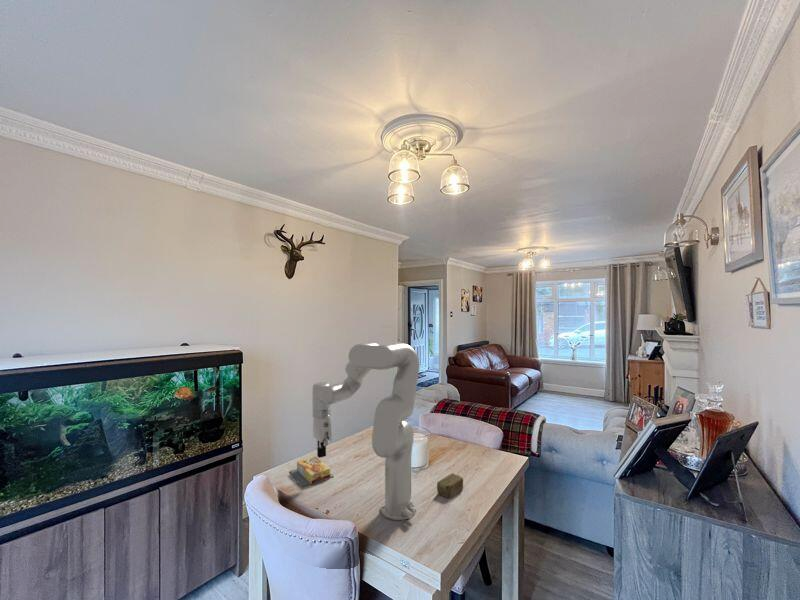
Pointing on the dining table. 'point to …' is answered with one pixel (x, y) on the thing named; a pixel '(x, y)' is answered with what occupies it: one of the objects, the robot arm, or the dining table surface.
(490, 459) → the dining table surface
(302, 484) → the mat
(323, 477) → the candy box
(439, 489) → the stone block
